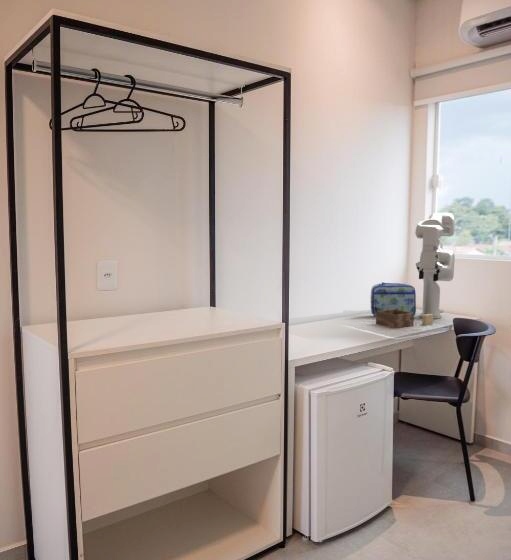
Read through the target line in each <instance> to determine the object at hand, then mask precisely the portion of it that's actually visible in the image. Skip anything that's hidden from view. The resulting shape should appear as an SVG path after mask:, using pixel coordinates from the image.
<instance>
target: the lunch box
mask: <svg viewBox="0 0 511 560" xmlns="http://www.w3.org/2000/svg"><path fill="white" fill-rule="evenodd" d="M370 289H371V290H370V312H371V314H372V315H373V317H375V318H376V312H377V311H384V310H392V309H396V310H401V311H406V312H411V313H414V316H416V312H417V310H416V309H417V305H416V303H417V302H416V299H417V298H416V297H417V296H416V295H417V294H416V289H415V287H414V286H413V285H410V284H407V283H398V282H396V283H394V282H391V283H390V282H384V281H383V282H381V283H377V284H374V285H372V286H371V288H370Z"/></svg>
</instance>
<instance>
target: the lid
mask: <svg viewBox="0 0 511 560" xmlns="http://www.w3.org/2000/svg"><path fill="white" fill-rule="evenodd" d="M421 318H422V319H421V325H423V326H429V325H430V326H431V325H434V319H433V314H425V315H422V317H421ZM442 328H447V326H444V327H442Z"/></svg>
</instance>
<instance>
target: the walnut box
mask: <svg viewBox="0 0 511 560" xmlns="http://www.w3.org/2000/svg"><path fill="white" fill-rule="evenodd" d="M375 318H376V319H375V324H376V325H379V326H383V327H387V328H392V329H402V328H408V327H414V325H415V323H414V320H415V315H414V313H411V312H406V311H401V310H396V309H392V310H384V311H377V312H376V317H375Z"/></svg>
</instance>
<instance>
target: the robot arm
mask: <svg viewBox="0 0 511 560" xmlns="http://www.w3.org/2000/svg"><path fill="white" fill-rule="evenodd" d="M415 227H416V228H415V237H416V238H417V239H422V250H421V252H420V257H419V261H418V262H416V263H415V266H416V269H417V272H418V280H423V289H422V290H423V293H422V313H419V317H421V318H422V315H425V314H433V320H434V319H441V318H442V313H444V309H440V301H441V299H440V298H441V287H440V285H439V284H438V282H451V281H452V280H453V279H454V275H455V261H456V260H455V259H456V257H455V253H454V251H452V250H448V249H443V247H444V246H443V243H442V241H441V240H440V238H441V237H452V236H453V235H454V234H455V231H456V224H455V217H454V215H453V214H452V213H450V212H436V213H435V212H434V213H431V214H430V215H429V216H428V218H427V219H425V220H422V221H420V222H418V223H417V226H415Z"/></svg>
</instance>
